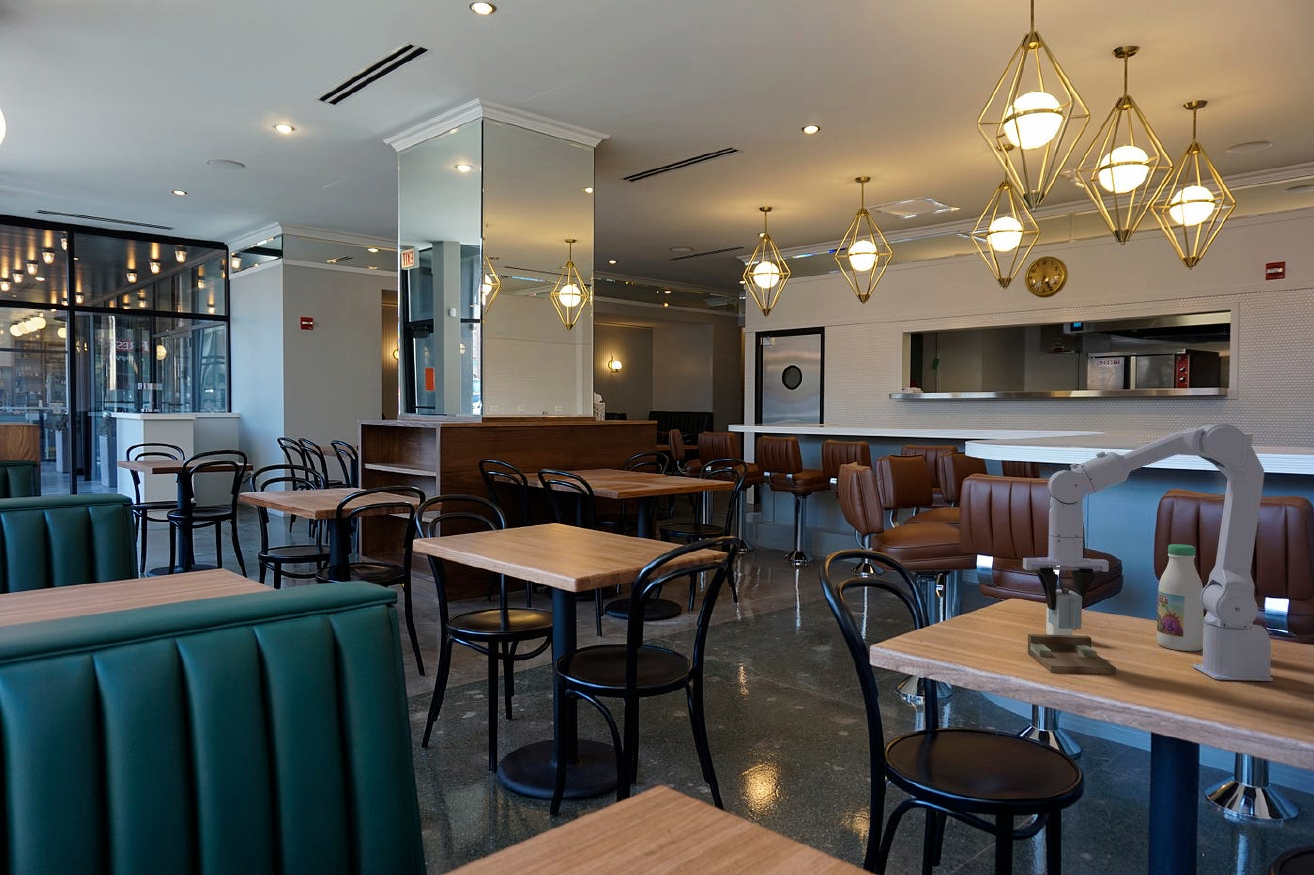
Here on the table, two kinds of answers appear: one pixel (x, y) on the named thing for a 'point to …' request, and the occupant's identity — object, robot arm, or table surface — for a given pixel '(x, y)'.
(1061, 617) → the grey knobbed box
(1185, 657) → the table surface
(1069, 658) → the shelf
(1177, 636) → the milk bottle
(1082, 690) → the table surface
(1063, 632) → the pepper shaker
